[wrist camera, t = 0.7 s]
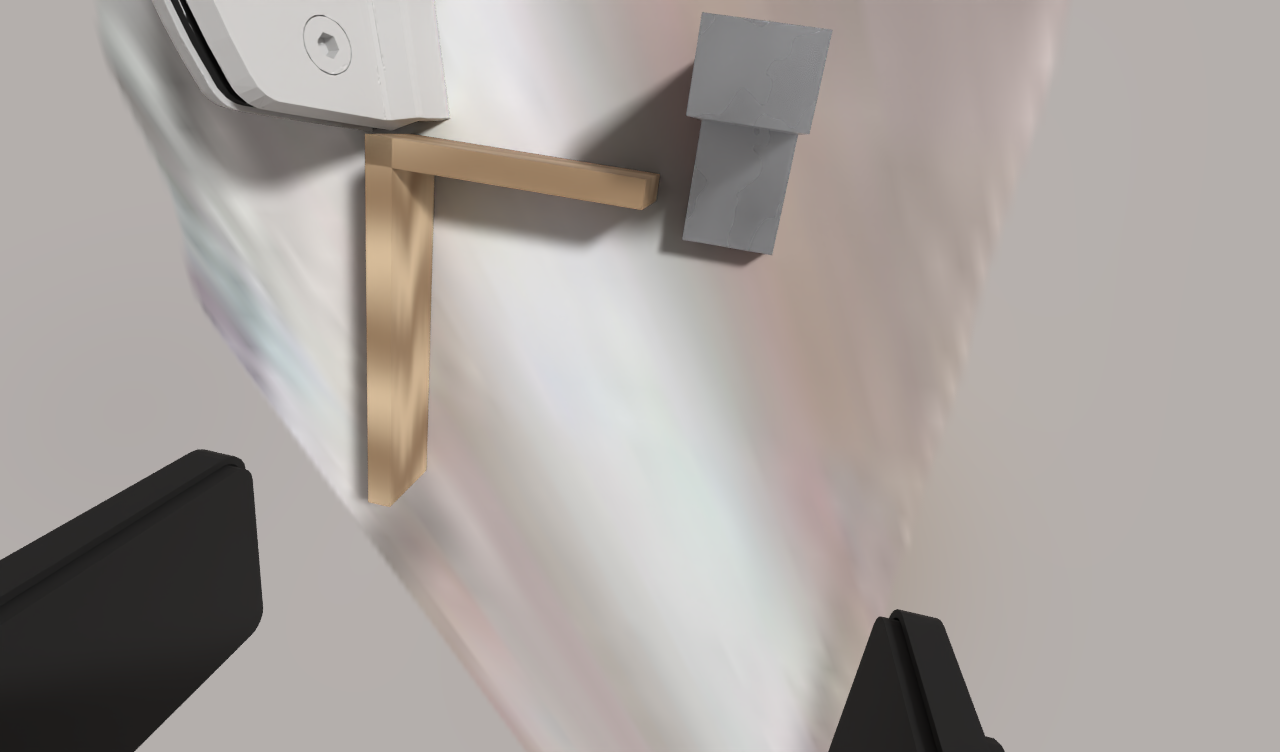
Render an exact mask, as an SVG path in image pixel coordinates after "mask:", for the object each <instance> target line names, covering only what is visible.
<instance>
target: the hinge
mask: <svg viewBox="0 0 1280 752" xmlns="http://www.w3.org/2000/svg"><path fill="white" fill-rule="evenodd" d="M152 2H153V4H154V6H155V9H156V11H157V13H158V15H159V17H160V19H161V21H162V24H163V25H164V27H165V29H166V31H167V33H168V35H169V37H170V38H171V40H172V42H173V44H174V46H175V48H176V50H177V51H178V53H179V55H180V57H181V59H182V61H183V62H184V64H185V66H186V67H187V69H188V70H189V72H190V74H191V75H192V77H193V79H194V80H195V82H196V84H197V85H198V87H199V89H200V90H201V92H202V93H203V94H204V95H205V96H206V97H207V98H208V99H209V100H210V101H212V102H213V103H215V104H217V105H219V106H222V107H225V108H229V109H233V110H236V111H240V112H245V113H251V114H258V115H265V116H271V117H278V118H285V119H291V120H298V121H305V122H311V123H318V124H325V125H331V126H338V127H344V128H351V129H358V130H364V131H371V132H373V129H372V127H374V128H380V129H387V130H395V129H397V128H400V127H403V126H406V125H408V124H411V123H414V122H416V121H442V120H446V119H449V118H450V113H449V106H448V98H447V91H446V83H445V76H444V68H443V61H442V53H441V46H440V38H439V30H438V23H437V15H436V8H435V0H152Z"/></svg>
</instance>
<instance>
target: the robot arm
mask: <svg viewBox="0 0 1280 752" xmlns="http://www.w3.org/2000/svg"><path fill="white" fill-rule="evenodd" d="M255 516H256V515H255V504H254V491H253V479H252V475H251V473H250V472H249V471H248V470H246V469H245V465H244V463H243V461H242V460H241V459H239V458H237V457H235V456H230V455H225V454H222V453H217V452H213V451H208V450H195V451H193V452H190V453H188V454H187V455H185V456H183V457H182V458H180V459H178V460H176V461H174V462H173V463H171V464H169V465H167V466H166V467H164V468H162V469H160V470H159V471H157V472H155V473H153V474H151V475H150V476H148V477H146V478H144V479H143V480H141V481H139V482H137V483H136V484H134V485H132V486H130V487H129V488H127V489H125V490H123V491H122V492H120V493H118V494H116V495H115V496H113V497H111V498H109V499H107V500H106V501H104V502H102V503H100V504H99V505H97V506H95V507H93V508H92V509H90V510H88V511H86V512H85V513H83V514H81V515H79V516H77V517H76V518H74V519H72V520H70V521H69V522H67V523H65V524H63V525H62V526H60V527H58V528H56V529H55V530H53V531H51V532H49V533H47V534H46V535H44V536H42V537H40V538H39V539H37V540H35V541H33V542H32V543H30V544H28V545H26V546H25V547H23V548H21V549H19V550H17V551H16V552H14V553H12V554H10V555H9V556H7V557H5V558H3V559H2V560H0V752H134V751H135V750H136V749H137V748H138V747H139V746H140V745H141V744H142V743H143V742H144V741H145V740H146V739H147V738H148V737H149V736H150V735H151V734H152V733H153V732H154V731H155V730H156V729H157V728H158V727H159V726H160V725H161V724H162V723H163V722H164V721H165V720H166V719H167V718H168V717H169V716H170V715H171V714H172V713H173V712H174V711H175V710H176V709H177V708H178V707H179V706H181V704H182V703H183V702H184V701H186V700H187V698H189V697H190V696H191V695H192V694H193V693H194V692H195V691H196V689H198V688H199V687H200V686H201V684H203V683H204V682H205V681H206V680H207V679H208V678H209V677H210V676H211V675H212V674H213V673H214V672H215V671H216V670H217V669H218V668H219V667H220V666H221V665H222V664H223V663H224V662H225V661H226V660H227V659H228V658H229V657H230V656H231V655H232V654H233V653H234V652H235V651H236V650H237V649H238V648H239V647H240V646H241V645H242V644H243V643H244V642H245V641H246V640H247V639H248V638H249V637H250V636H251V635H252V633H253V632H254V631H255V630H256V628H257V626H258V624H259V622H260V620H261V617H262V613H263V601H262V590H261V577H260V565H259V552H258V540H257V528H256V517H255ZM828 752H1004V749H1003V748H1002V746H1001V745H1000V744H999V743H998V742H997V741H996V740H995V739H994V738H990V737H985V735H984V732H983V730H982V727H981V724H980V721H979V719H978V716H977V714H976V711H975V708H974V705H973V703H972V700H971V697H970V695H969V692H968V689H967V686H966V684H965V681H964V679H963V676H962V673H961V670H960V668H959V665H958V662H957V660H956V657H955V654H954V652H953V649H952V646H951V644H950V641H949V638H948V636H947V633H946V630H945V627H944V625H943V623H942V622H941V621H940V620H939V619H937V618H933V617H928V616H924V615H920V614H916V613H911V612H907V611H903V610H898V609H897V610H894V611H893V612H892V613H891V615H890V617H889V618H885V617H878V618H877V619H876V621H875V623H874V626H873V628H872V631H871V634H870V637H869V640H868V642H867V645H866V648H865V651H864V654H863V656H862V659H861V662H860V665H859V668H858V670H857V673H856V676H855V679H854V682H853V684H852V687H851V690H850V693H849V696H848V698H847V701H846V704H845V707H844V709H843V712H842V715H841V718H840V721H839V723H838V726H837V729H836V732H835V735H834V737H833V740H832V743H831V746H830V749H829V751H828Z"/></svg>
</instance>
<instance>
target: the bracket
mask: <svg viewBox="0 0 1280 752" xmlns="http://www.w3.org/2000/svg"><path fill="white" fill-rule="evenodd" d="M831 34H832V30H830V29H823V28H815V27H808V26H800V25H793V24H786V23H778V22H771V21H763V20H756V19H748V18H741V17H733V16H726V15H718V14H711V13H704V12H702V17H701V23H700V29H699V36H698V42H697V49H696V55H695V61H694V68H693V74H692V81H691V87H690V93H689V100H688V106H687V113H686V116H689V117H693V118H696V119H700V120H702V123H701V129H700V135H699V141H698V147H697V153H696V159H695V165H694V171H693V177H692V183H691V189H690V195H689V201H688V208H687V214H686V220H685V226H684V232H683V238H682V240H687V241H693V242H699V243H705V244H710V245H716V246H722V247H728V248H734V249H739V250H745V251H751V252H757V253H763V254H769V255H772V253H773V248H774V244H775V239H776V234H777V230H778V225H779V220H780V216H781V211H782V206H783V202H784V197H785V193H786V188H787V183H788V179H789V174H790V169H791V165H792V160H793V155H794V151H795V146H796V142H797V137H798V135H804V134H810V129H811V125H812V120H813V115H814V111H815V106H816V102H817V97H818V93H819V88H820V84H821V79H822V75H823V70H824V66H825V61H826V57H827V52H828V48H829V43H830V39H831Z"/></svg>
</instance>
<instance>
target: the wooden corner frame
mask: <svg viewBox="0 0 1280 752" xmlns="http://www.w3.org/2000/svg"><path fill="white" fill-rule="evenodd" d="M434 175H436V176H442V177H448V178H454V179H460V180H466V181H472V182H478V183H484V184H490V185H496V186H502V187H508V188H514V189H519V190H525V191H531V192H537V193H543V194H549V195H555V196H561V197H567V198H573V199H579V200H585V201H591V202H597V203H603V204H609V205H615V206H621V207H627V208H633V209H639V210H643V209H644V208H646V207H647V206H649V205H651V204H652V203H654V202H655V201H656V198H657V192H658V185H659V178H660V174H656V173H650V172H644V171H638V170H632V169H625V168H619V167H613V166H607V165H601V164H595V163H588V162H582V161H576V160H570V159H564V158H557V157H551V156H545V155H539V154H533V153H526V152H520V151H514V150H508V149H502V148H495V147H489V146H483V145H477V144H471V143H465V142H458V141H452V140H446V139H440V138H434V137H427V136H421V135H415V134H365V206H366V314H367V422H368V502H370V503H375V504H379V505H383V506H388V507H391V506H392V505H393V504H394V502H395V501H396V500H397V499H398V498H399V497H400V496H401V495H402V494H403V493H404V492H405V491H406V490H407V489H408V488H409V487H410V486H411V485H412V484H413V483H414V482H415V481H416V480H417V479H418V478H419V477H420V476H421V475H422V474H423V473H424V472H425V471H426V466H427V430H428V393H429V357H430V321H431V284H432V248H433V212H434Z"/></svg>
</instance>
